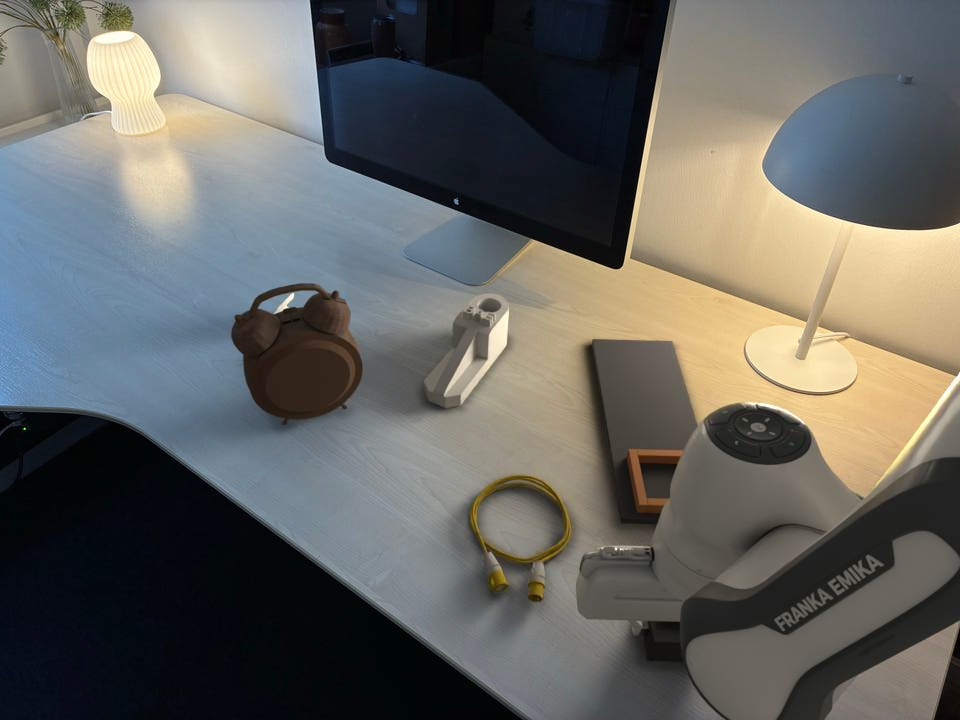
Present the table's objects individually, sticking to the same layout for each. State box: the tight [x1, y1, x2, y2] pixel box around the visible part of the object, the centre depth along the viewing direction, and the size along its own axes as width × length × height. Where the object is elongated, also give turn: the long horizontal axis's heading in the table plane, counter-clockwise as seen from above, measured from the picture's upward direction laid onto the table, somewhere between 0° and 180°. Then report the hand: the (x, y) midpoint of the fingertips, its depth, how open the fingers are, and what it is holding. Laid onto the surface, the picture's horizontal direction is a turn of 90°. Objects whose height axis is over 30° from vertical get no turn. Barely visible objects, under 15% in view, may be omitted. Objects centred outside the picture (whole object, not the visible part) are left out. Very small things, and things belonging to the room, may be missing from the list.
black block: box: [642, 621, 684, 663], centre depth 67 cm, size 5×5×4 cm
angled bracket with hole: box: [423, 293, 510, 409], centre depth 96 cm, size 6×18×8 cm, turn 152°
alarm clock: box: [230, 282, 364, 427], centre depth 85 cm, size 14×7×20 cm, turn 113°
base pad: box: [591, 338, 698, 525], centre depth 90 cm, size 32×12×2 cm, turn 179°
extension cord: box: [468, 474, 572, 603], centre depth 77 cm, size 12×16×2 cm
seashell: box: [272, 292, 295, 315], centre depth 102 cm, size 8×5×8 cm
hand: (671, 629), depth 68 cm, fingers closed on black block, 5 cm apart
